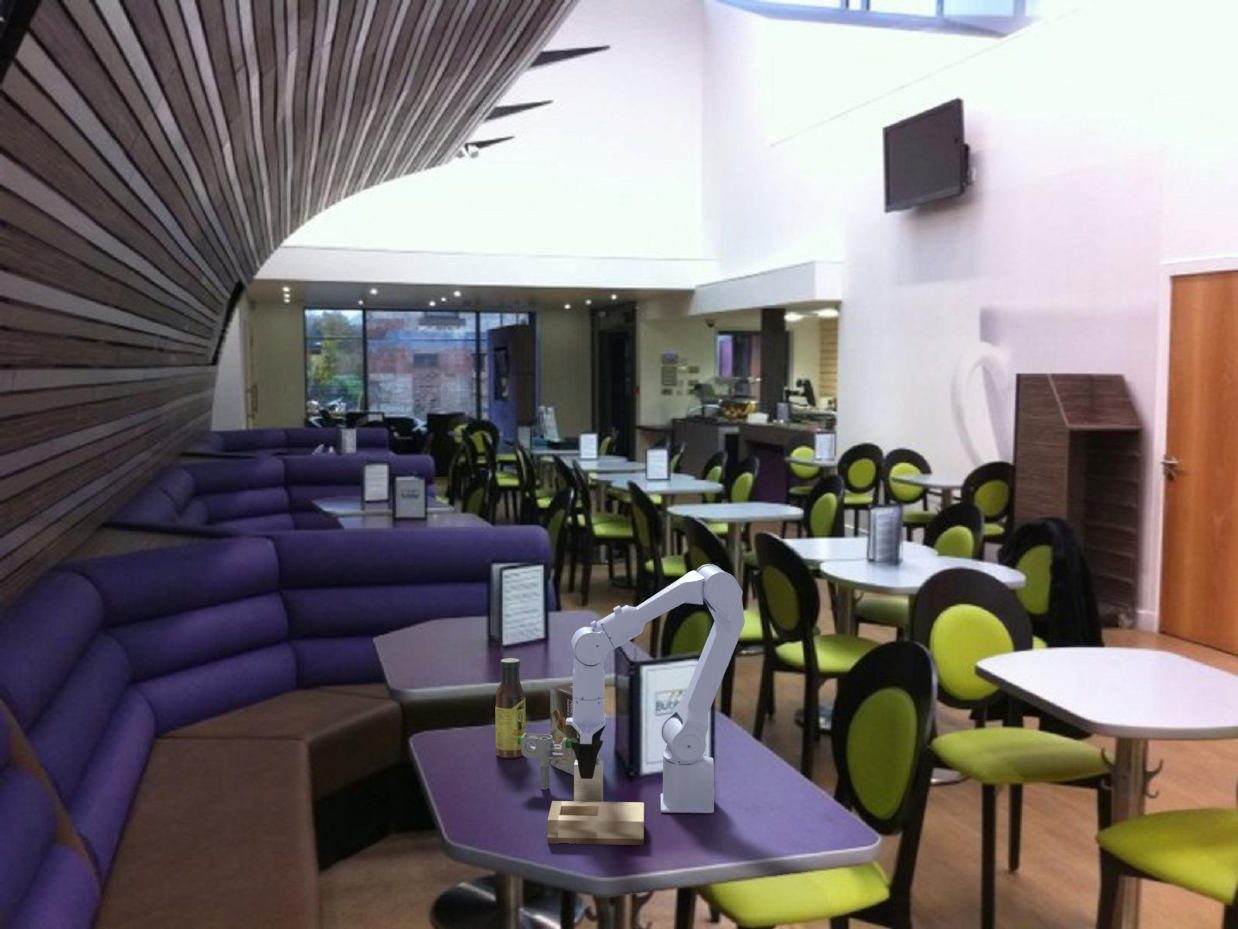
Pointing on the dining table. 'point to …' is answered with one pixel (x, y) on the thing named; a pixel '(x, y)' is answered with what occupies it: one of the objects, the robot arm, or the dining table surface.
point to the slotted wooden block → (596, 823)
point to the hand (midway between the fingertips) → (588, 770)
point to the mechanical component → (543, 752)
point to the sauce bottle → (509, 710)
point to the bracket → (589, 784)
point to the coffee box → (563, 724)
